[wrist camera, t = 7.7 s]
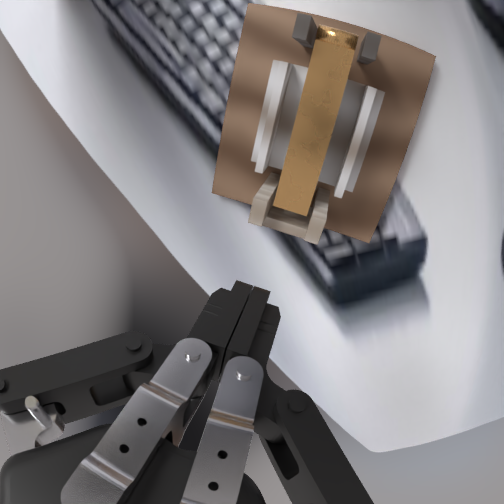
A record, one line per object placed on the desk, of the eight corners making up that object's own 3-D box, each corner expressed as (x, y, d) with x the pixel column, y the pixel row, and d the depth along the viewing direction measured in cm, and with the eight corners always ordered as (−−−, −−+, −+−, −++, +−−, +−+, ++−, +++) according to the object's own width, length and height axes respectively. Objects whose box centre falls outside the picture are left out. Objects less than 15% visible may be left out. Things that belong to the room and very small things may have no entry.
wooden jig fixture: (252, 6, 24) (221, -15, 17) (431, 56, 22) (462, 51, 15) (216, 188, 36) (183, 221, 29) (368, 236, 34) (372, 283, 27)
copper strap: (320, 26, 19) (319, 22, 18) (358, 36, 19) (359, 33, 18) (275, 200, 28) (272, 207, 27) (308, 210, 28) (306, 217, 26)
